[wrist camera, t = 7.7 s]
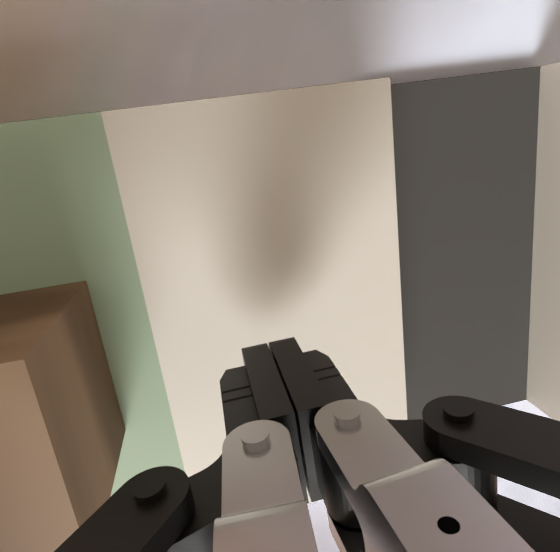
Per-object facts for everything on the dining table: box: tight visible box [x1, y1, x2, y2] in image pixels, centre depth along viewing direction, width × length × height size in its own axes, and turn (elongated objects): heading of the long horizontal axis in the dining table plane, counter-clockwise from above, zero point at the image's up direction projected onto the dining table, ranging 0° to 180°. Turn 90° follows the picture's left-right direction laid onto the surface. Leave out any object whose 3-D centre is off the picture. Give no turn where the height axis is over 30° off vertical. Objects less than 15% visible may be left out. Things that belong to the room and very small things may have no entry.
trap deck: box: [0, 62, 560, 502], centre depth 15 cm, size 33×14×3 cm, turn 98°
